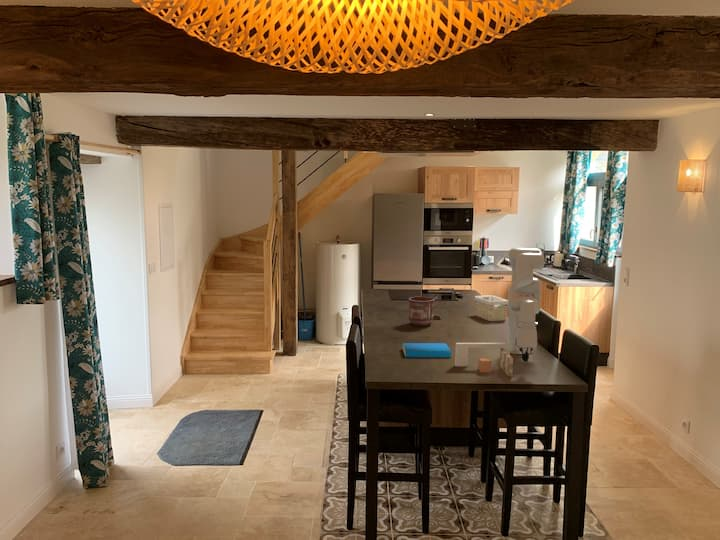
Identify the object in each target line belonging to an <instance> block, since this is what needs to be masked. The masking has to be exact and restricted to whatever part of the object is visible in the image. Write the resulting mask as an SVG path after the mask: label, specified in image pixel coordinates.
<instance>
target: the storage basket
mask: <svg viewBox="0 0 720 540" xmlns="http://www.w3.org/2000/svg"><path fill="white" fill-rule="evenodd" d="M473 300H474V316H476V317H478V318H480V317H481V318H480V319H483V320H485V321H487V322H488V321H489V322H496V321H498V322H499V321H506V320H507V316H508V315H507V314H508V299H505V298H502V297H500V296H498V295H497V296H496V295H494V294H491V295H490V294H489V295H475V296H474V298H473Z"/></svg>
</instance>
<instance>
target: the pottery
mask: <svg viewBox="0 0 720 540" xmlns="http://www.w3.org/2000/svg"><path fill="white" fill-rule="evenodd" d="M435 301H436V299H435V298H433V297H430V296H412V297H408V321H409V324H411V325H412V326H414V327H421V328H422V327H423V328H424V327H428V326H430V325H431V324H432V323H433V322H434V311H435V310H434V308H435Z"/></svg>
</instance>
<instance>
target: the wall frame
mask: <svg viewBox="0 0 720 540" xmlns="http://www.w3.org/2000/svg"><path fill="white" fill-rule="evenodd" d="M469 348H472V349H473V348H475V349H476V348H479V349H480V348H481V349H482V348H483V349H484V348H489V349H490V348H491V349H493V348H498V349H501V348H503V349H504V350H505V351H506V352H507V353H508V354H509V355H510V356H511V353H510V343H508V342H455V354H454V355H455V357H454V358H455V359H454V366H455V367H468V366H469Z"/></svg>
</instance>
